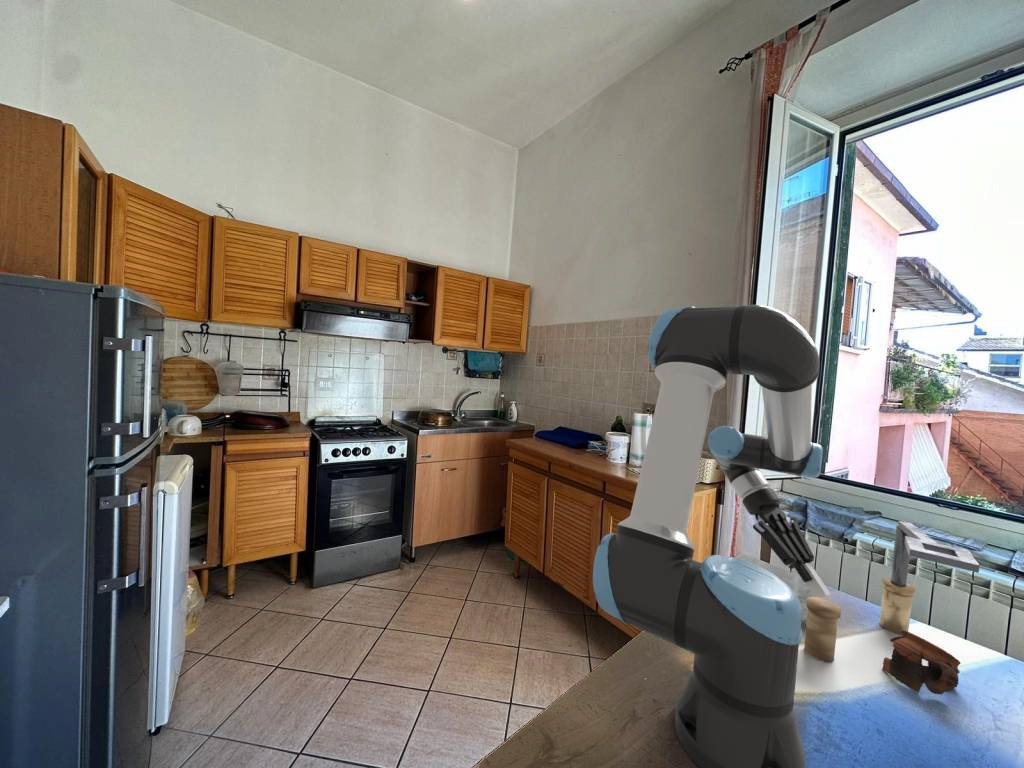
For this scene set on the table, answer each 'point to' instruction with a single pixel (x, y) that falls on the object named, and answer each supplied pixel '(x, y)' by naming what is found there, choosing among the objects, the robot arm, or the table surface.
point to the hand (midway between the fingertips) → (823, 596)
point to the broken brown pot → (909, 664)
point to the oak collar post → (821, 628)
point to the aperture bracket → (896, 588)
